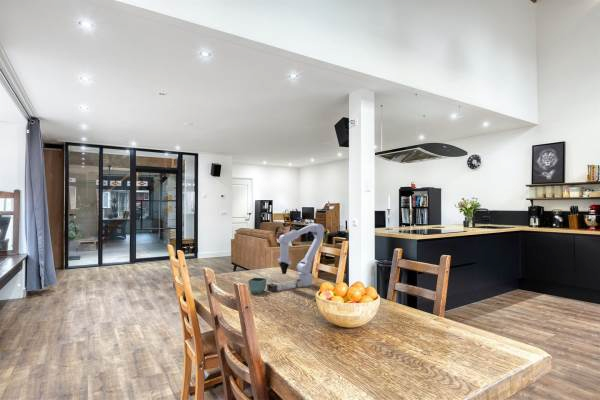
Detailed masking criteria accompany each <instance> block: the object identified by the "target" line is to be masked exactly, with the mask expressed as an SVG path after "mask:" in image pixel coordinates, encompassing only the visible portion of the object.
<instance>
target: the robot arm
mask: <svg viewBox="0 0 600 400" xmlns="http://www.w3.org/2000/svg"><path fill="white" fill-rule="evenodd" d="M325 230H326V229H325V227H324V225H323V224H321V223H316V222H314V223H312V224H311V223H310V224H308V225H306V226H304V227H302V228H301V229H298V230H297V229H291V231H289V232H285V233H284V234H281V235H279V238H278V242H279V257H278V258H277V259H276V260H277V262H279V263H278V265H279V266H280V269H281V274H282V275H286V274H287V271H288V268H289V266H290V265H292V261H291V259H290V257H289V256H290V254H289V253H290V252H289V249H290V248H289V247H290V246H289V245H290V244H289V243H290V242H292V241H294V240H297V239H298V238H300V236H301V235H304V234H306V233H309V232H311V233H312V235H313V238H314V239H313V241H312V243H311V244H310V247H309V248H308V250H307V252H306V254H305V256H304V258H302V259H301V260H300V261H299V263H297V265H296V270H297V272H298V273H297V279H300V281H303V287H308V286H313V284H314V281H313V280H314V279H313V274H312V273H311V270H312V269H311V268H312V264H313V263H312V262H313V260H314V257H315V255H316V254H317V252H318V250H319V249H320V246H321V244H322V242H323V240H324V236H325V235H324V233H325Z"/></svg>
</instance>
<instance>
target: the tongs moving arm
mask: <svg viewBox="0 0 600 400" xmlns="http://www.w3.org/2000/svg"><path fill="white" fill-rule="evenodd" d="M295 288H296V287H295V282H294V281H293V282H289V283H283V284H277V285H270V291H269V292H271V293H273V292H279V291H284V290H290V289H291V290H292V289H295Z"/></svg>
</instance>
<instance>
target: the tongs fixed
mask: <svg viewBox="0 0 600 400" xmlns="http://www.w3.org/2000/svg"><path fill="white" fill-rule="evenodd" d="M289 282H295V288H301V287H302V288H303V287H304V286H303V281H300V279H298V278H297V279H293V281H292V280H290V281H282V282H274V283H268V284H267V283H266V291H268V292H271V291H270V285H277V284H283V283H289Z"/></svg>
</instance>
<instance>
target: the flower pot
mask: <svg viewBox="0 0 600 400" xmlns="http://www.w3.org/2000/svg"><path fill="white" fill-rule="evenodd" d="M248 287H249V291H250V293H251V294H262V293H263V292H264V291H265V289H266V288H267V278H265V277H253V278H251V279H249V280H248Z"/></svg>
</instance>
